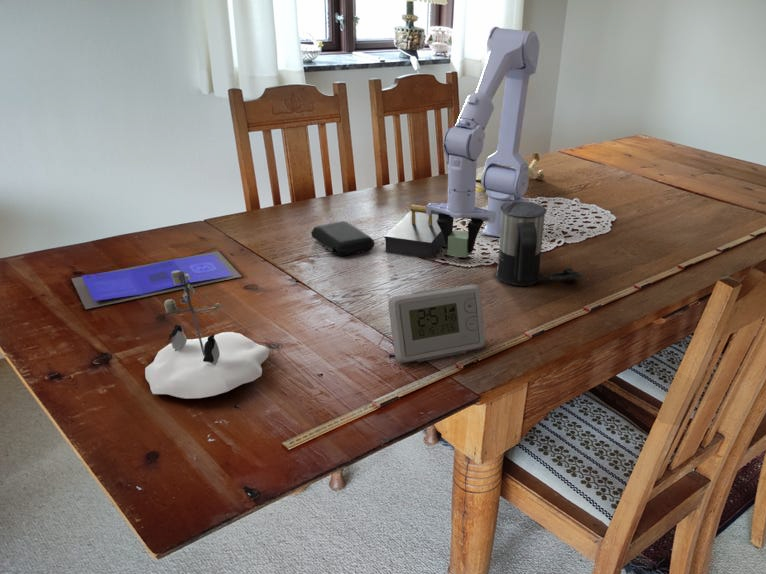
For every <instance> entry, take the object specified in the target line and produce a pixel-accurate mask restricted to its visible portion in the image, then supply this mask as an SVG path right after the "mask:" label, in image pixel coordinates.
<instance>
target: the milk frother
mask: <svg viewBox="0 0 766 574" xmlns="http://www.w3.org/2000/svg"><path fill="white" fill-rule="evenodd" d="M500 209H501V211H502V212H501V227H500V237H499V246H498V247H499V248H498V261H497V262H498V263H497V271H496V273H495V277H496V278H497V280H499V281H500V282H502V283H504V284H508V285H511V286H513V285H514V286H531V285H534V284H537V283H539V281H540V282H541V281H542V282H543V281H544V282H546V281H548V282H549V281H564V282H571V281H573V280H575V279H579V278H581V277H582V273H581V272H577V271H573V268H571V267H569V268H564V269H563V270H562V271H561V272H559V271H558V272H552V273H550V274H548V275H546V276H543V277H542V276H541V273H540V272H541V255H542V244H543V235H544V228H545V227H544V225H545V216H546V213H547V208H546V207H544V205H541V204H538V203H535V202H531V201H528V202H508V203H505V204H503V205H502V206H501V207H500Z"/></svg>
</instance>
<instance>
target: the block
mask: <svg viewBox="0 0 766 574" xmlns="http://www.w3.org/2000/svg"><path fill="white" fill-rule="evenodd" d="M468 240H469V237H468V231H463V230H457V229H453V231H452V233H451V234H450V235H449V236H448V250H447V256H453V257H458V258H466V259H467V258H468V256H469V255H470V253H468Z"/></svg>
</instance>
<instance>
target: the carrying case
mask: <svg viewBox="0 0 766 574" xmlns="http://www.w3.org/2000/svg"><path fill="white" fill-rule="evenodd" d="M310 233H311V237H312V238H313V239H315V240H316V241H317V242H319V243H320V244H322V245H323V249H324V250H325V251H326V252H330V253H332V254H336V255H337V256H340V257H346V256H351V255H355V254H359V253H364V252H365V253H366V252H368V251H369V252H370V251H371V250H372V249H373V248H374V247H375V245H376V242H375V240H374V239H373V238H372V237H371V236H369V235H368V234H367V233H365V232H364V231H362V230H361V229H359V228H358V227H356V226H354V225H353V224H351V223H350V222H348V221H345V220H340V221H334V222H330V223H324V224H320V225H316V226H314V227H313V229H312V230H311V232H310Z"/></svg>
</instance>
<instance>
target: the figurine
mask: <svg viewBox="0 0 766 574" xmlns="http://www.w3.org/2000/svg"><path fill="white" fill-rule="evenodd" d="M171 273H172V277H173V281H174V284H175V285H179V284H182V283H184V285H185V287H184V286H183V287H184V289H183V295H182V296H181V295H179V299H180V304H179V305H178V306H177V303H176V301H175V300H174V299H171V298H169V299H166V300H164V303H163V305H164V307H165V308H164V309H165V315H168V316H169V315H173V314H180V313H186V312H190V313H191V315H192V319H193V322H194V326H195V330H196V333H197V337H198V338H191V339H189V338H188V339H187V336H186V335H185V332H184V329H183V328H182V325H181V324H175V325H174V329H172V331H171V332H170V334H169V335H168V339H167V343H166V345H165V346H164V347H163V348H161V349H160V350H159V351H158V352H157V353H156V355H155V357H154V360H153V361H152V362H150V363H149V364H148V365H147V366H146V367H145V368H144V376H145V380H146V381H147V383H148V384H149V388H150V392H151V393H152V395H169V396H171V397H176V398H180V399H203V398H208V397H214V396H217V395H220V394H224V393H228V392H229V391H231V390H234V389H235V388H238V387H239V386H241V385H244V384H248V383H251V382H254V381H255V380H257V379H258V378H261V377H262V374H263V368H262V364H263V363H264V362H265V361H266V360H267V359H268V358H269V355H270V350H271V349H270V348H268V347H267V346H265V345H261V344H259V343H256V342H255V341H253V340H252V339H250V338H248V337H246V336H245V335H243V334H242V333H238V332H234V331H225V332H220V333H217V334H215V333H212V334H211V335H210V336H205V337H201V333H200V329H199V325H198V322H197V318H196V314H197V313H198V314H201V315H202V314H204V312H206V311H207V312H206V314H209V313H212V312H214V311H215V310H218V309H220V308H222V304H220V303H219V302H218V303H215V305H214V306H212V307H208V308H201V309H197V310H195V308H194V306H193V303H192V297H191V294H195V289H194V288H193V287H192V286H191V285H190V284H189V274H185V275H184V272H181V271H180V270H177V271H173V272H171ZM182 277H183V278H182ZM183 281H184V282H183ZM186 281H188V282H187V283H186ZM182 285H183V284H182ZM187 286H188V287H187ZM184 304H185V305H187V304H188V308H184V309H178V308H179V307H180V306H181V305H184ZM200 312H201V313H200ZM169 341H171V343H169Z"/></svg>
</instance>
